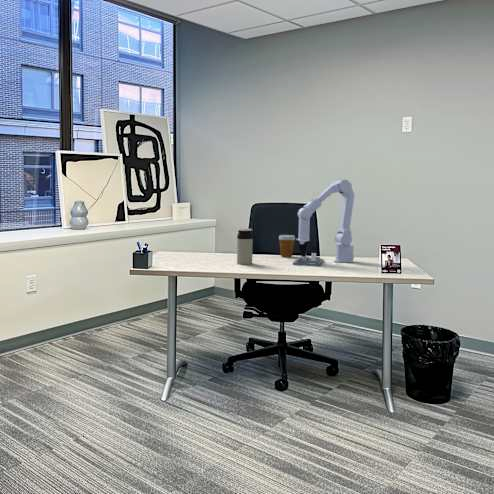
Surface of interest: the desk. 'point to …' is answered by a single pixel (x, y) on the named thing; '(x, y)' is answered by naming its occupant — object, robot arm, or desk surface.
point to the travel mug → (244, 246)
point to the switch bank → (308, 261)
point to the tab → (313, 257)
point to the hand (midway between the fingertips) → (303, 256)
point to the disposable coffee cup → (286, 245)
